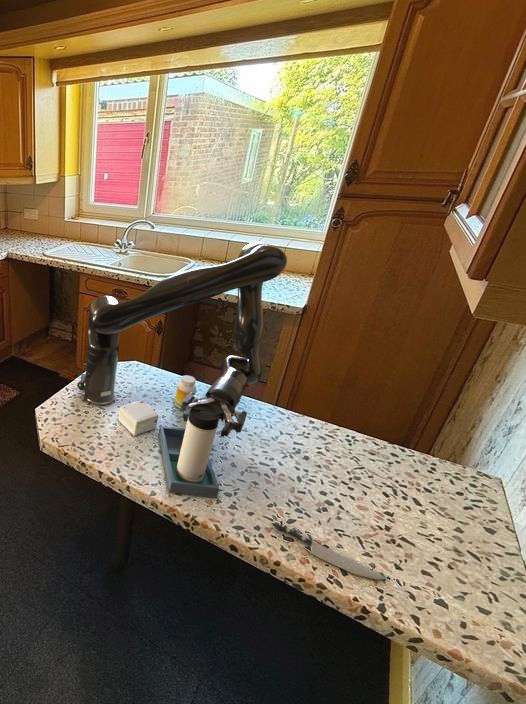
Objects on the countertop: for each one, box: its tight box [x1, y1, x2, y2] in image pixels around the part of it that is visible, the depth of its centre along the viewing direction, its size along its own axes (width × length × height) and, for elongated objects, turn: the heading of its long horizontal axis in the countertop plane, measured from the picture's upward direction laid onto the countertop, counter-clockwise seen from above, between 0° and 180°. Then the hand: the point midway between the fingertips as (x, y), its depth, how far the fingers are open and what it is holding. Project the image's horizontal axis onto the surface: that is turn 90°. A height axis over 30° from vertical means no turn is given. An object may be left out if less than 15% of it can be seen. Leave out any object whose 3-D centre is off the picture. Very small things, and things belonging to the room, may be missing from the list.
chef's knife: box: [273, 523, 388, 580], centre depth 79 cm, size 19×1×3 cm
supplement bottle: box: [173, 374, 197, 409], centre depth 121 cm, size 5×5×10 cm
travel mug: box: [176, 404, 223, 484], centre depth 93 cm, size 6×7×20 cm
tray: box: [157, 425, 220, 499], centre depth 101 cm, size 11×20×3 cm, turn 171°
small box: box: [118, 400, 159, 436], centre depth 114 cm, size 8×8×5 cm
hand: (203, 426), depth 93 cm, fingers open, 8 cm apart
